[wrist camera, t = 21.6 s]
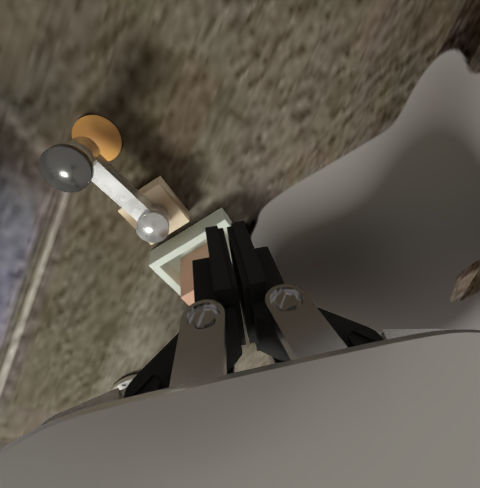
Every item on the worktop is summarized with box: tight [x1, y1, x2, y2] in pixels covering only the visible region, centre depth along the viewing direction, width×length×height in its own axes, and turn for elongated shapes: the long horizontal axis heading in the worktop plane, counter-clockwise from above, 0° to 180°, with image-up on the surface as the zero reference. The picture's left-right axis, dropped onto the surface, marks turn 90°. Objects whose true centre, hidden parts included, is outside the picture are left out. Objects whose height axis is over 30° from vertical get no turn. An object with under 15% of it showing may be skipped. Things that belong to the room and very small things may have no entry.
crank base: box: [72, 115, 189, 245], centre depth 34 cm, size 16×6×3 cm, turn 30°
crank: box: [39, 136, 170, 243], centre depth 30 cm, size 14×4×6 cm, turn 35°
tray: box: [149, 207, 233, 296], centre depth 41 cm, size 10×12×4 cm
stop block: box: [180, 243, 209, 306], centre depth 39 cm, size 4×6×8 cm, turn 120°
